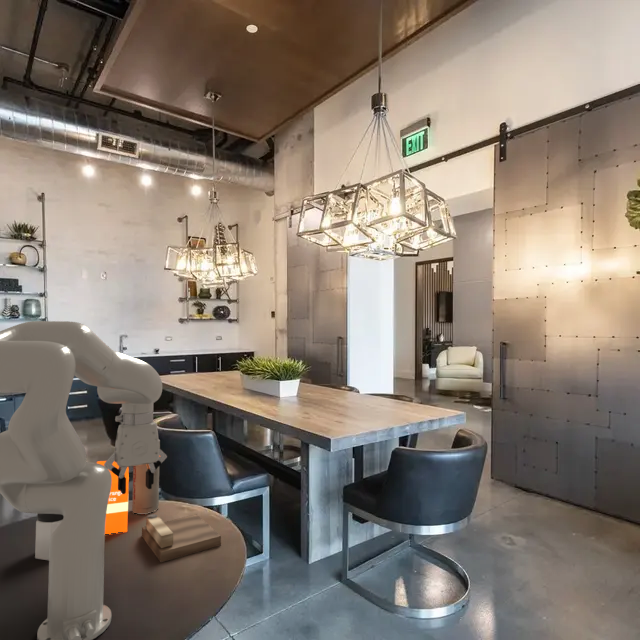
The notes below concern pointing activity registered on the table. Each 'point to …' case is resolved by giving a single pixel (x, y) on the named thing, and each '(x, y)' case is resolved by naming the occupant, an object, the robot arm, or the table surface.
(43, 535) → the jar
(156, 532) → the hinged leg
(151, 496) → the thermos bottle
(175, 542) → the stool top
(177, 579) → the table surface
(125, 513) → the orange juice
